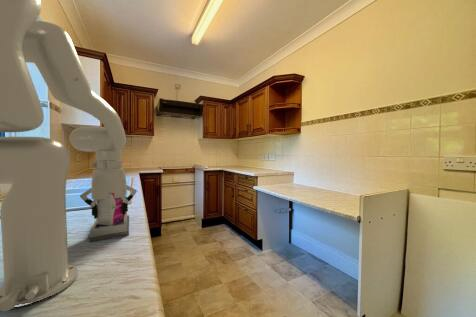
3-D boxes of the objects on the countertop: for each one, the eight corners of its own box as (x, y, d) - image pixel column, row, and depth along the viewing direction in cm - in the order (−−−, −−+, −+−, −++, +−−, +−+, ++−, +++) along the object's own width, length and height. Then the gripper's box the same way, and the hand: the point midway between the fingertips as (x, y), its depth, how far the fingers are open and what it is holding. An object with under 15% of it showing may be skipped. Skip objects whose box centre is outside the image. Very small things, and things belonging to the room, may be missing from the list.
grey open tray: (128, 235, 68) (128, 213, 68) (88, 242, 63) (88, 218, 62) (129, 218, 84) (128, 201, 83) (97, 223, 79) (96, 204, 78)
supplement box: (111, 227, 67) (110, 193, 66) (96, 226, 68) (95, 192, 68) (124, 221, 73) (123, 190, 72) (110, 220, 74) (109, 189, 73)
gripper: (74, 167, 62) (76, 223, 63) (137, 165, 70) (138, 214, 71) (80, 165, 69) (82, 216, 70) (137, 164, 77) (138, 209, 78)
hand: (110, 215), depth 70 cm, fingers closed on supplement box, 7 cm apart
